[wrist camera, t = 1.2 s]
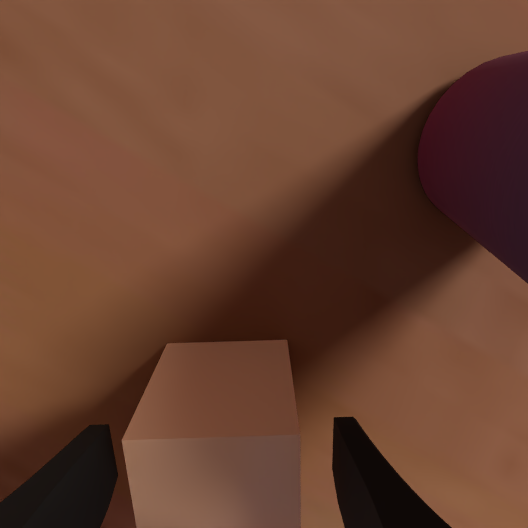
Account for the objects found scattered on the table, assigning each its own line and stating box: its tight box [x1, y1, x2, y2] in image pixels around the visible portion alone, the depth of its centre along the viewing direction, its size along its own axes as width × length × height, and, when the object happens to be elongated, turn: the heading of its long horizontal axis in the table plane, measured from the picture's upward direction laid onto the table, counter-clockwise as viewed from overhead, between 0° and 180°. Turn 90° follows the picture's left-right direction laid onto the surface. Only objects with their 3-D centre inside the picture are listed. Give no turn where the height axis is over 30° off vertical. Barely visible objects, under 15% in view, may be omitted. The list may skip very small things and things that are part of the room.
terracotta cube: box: [122, 340, 301, 528], centre depth 13 cm, size 4×4×5 cm
